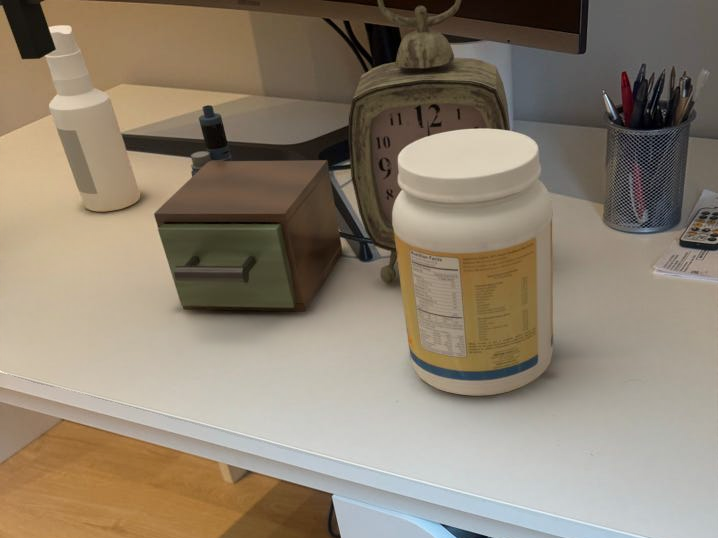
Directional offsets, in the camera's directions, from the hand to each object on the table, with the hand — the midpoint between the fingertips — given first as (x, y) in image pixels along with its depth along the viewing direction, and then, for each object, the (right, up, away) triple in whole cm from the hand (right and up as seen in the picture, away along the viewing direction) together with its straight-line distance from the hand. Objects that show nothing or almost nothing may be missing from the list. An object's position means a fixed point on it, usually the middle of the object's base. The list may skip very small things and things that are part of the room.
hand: (39, 54), depth 71 cm
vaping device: (+6, +1, +32) cm, 32 cm away
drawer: (+12, -11, +18) cm, 25 cm away
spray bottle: (-10, +8, +40) cm, 42 cm away
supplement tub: (+35, -23, +7) cm, 42 cm away
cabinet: (+13, -9, +21) cm, 26 cm away
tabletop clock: (+31, -9, +21) cm, 38 cm away
